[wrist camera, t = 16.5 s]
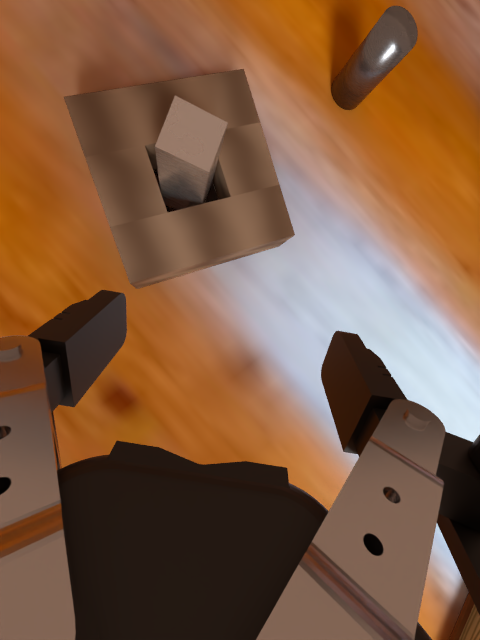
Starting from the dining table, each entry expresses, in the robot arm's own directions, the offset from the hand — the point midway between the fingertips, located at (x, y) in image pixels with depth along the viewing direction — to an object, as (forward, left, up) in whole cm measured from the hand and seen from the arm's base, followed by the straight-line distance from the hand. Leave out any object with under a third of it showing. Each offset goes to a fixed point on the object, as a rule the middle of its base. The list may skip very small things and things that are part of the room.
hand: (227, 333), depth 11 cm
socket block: (-4, -13, -20) cm, 24 cm away
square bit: (-4, -13, -20) cm, 24 cm away
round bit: (-26, -20, -20) cm, 38 cm away
